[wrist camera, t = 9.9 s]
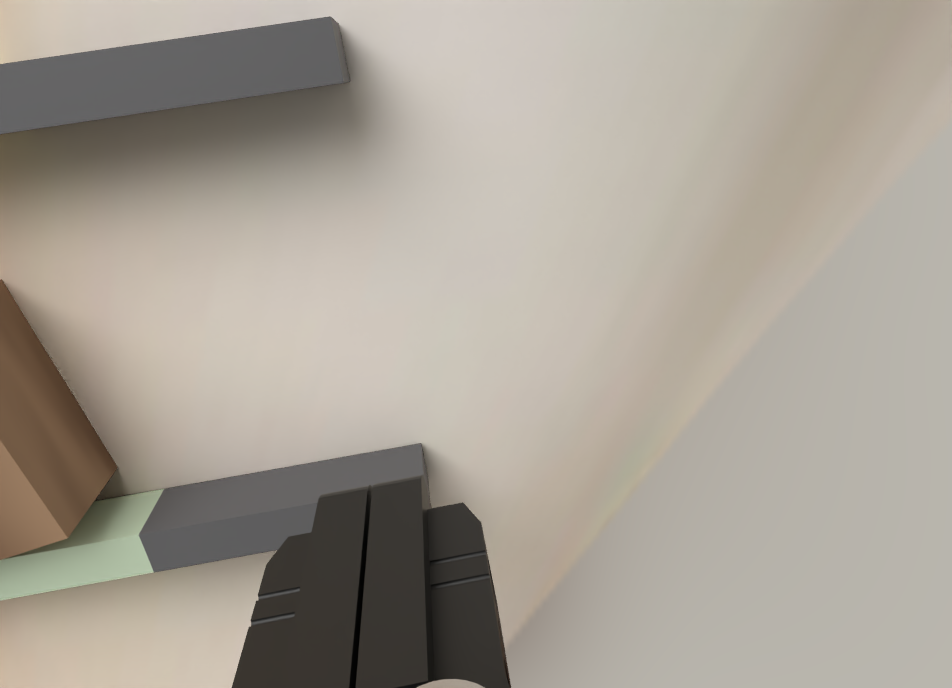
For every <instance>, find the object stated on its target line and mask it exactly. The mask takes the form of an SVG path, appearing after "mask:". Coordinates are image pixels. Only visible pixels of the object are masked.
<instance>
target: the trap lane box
mask: <svg viewBox="0 0 952 688" xmlns="http://www.w3.org/2000/svg"><path fill="white" fill-rule="evenodd" d="M346 82H350V78H349V73H348V68H347V63H346V58H345V53H344V48H343V43H342V38H341V33H340V27H339V23H337V22H336V21H335V20H334V19H333V18H332V17H324V18H317V19H310V20H303V21H296V22H289V23H282V24H276V25H269V26H262V27H255V28H248V29H241V30H234V31H227V32H220V33H213V34H206V35H199V36H192V37H185V38H179V39H172V40H165V41H158V42H151V43H144V44H137V45H130V46H123V47H116V48H109V49H102V50H95V51H88V52H82V53H75V54H68V55H61V56H54V57H47V58H40V59H33V60H26V61H19V62H12V63H5V64H0V134H5V133H11V132H18V131H25V130H31V129H38V128H45V127H51V126H58V125H65V124H72V123H78V122H85V121H92V120H98V119H105V118H112V117H118V116H125V115H132V114H138V113H145V112H152V111H159V110H165V109H172V108H179V107H185V106H192V105H199V104H205V103H212V102H219V101H225V100H232V99H239V98H246V97H252V96H259V95H266V94H272V93H279V92H286V91H292V90H299V89H306V88H312V87H319V86H326V85H333V84H339V83H346ZM419 475H423V477H424V479H425V483H426V486H427V491H428V495H429V484H428V476H427V471H426V466H425V460H424V455H423V450H422V445H421V443H420V444H415V445H409V446H404V447H398V448H392V449H387V450H381V451H375V452H370V453H364V454H358V455H353V456H347V457H341V458H336V459H330V460H325V461H319V462H313V463H308V464H302V465H296V466H291V467H285V468H279V469H274V470H268V471H263V472H257V473H251V474H246V475H240V476H234V477H229V478H223V479H217V480H212V481H206V482H201V483H195V484H189V485H184V486H178V487H172V488H167V489H161V490H155V491H150V492H144V493H139V494H133V495H127V496H122V497H116V498H110V499H105V500H99V501H94V502H93V503H92V505H91V506H90V508H89V509H88V510H87V512H86V513H85V515H84V516H83V518H82V519H81V520H80V522H79V523H78V525H77V526H76V527H75V529H74V530H73V532H72V533H71V535H70V536H69V537H68V538H67V539H64V540H61V541H58V542H55V543H52V544H49V545H45V546H42V547H39V548H36V549H33V550H30V551H27V552H24V553H21V554H18V555H15V556H12V557H8V558H5V559H2V560H0V601H1V600H6V599H12V598H17V597H23V596H28V595H34V594H39V593H44V592H50V591H55V590H61V589H66V588H72V587H77V586H83V585H88V584H94V583H99V582H104V581H110V580H115V579H121V578H126V577H132V576H137V575H143V574H148V573H154V572H159V571H164V570H170V569H175V568H181V567H186V566H192V565H197V564H203V563H208V562H214V561H219V560H224V559H230V558H235V557H241V556H246V555H252V554H257V553H263V552H268V551H274V550H278V549H279V548H280V547H281V545H282V544H283V543H284V541H285V540H286V539H287V537H289V536H294V535H300V534H305V533H310V532H312V527H313V522H314V517H315V513H316V508H317V503H318V499H319V497H320V495H322V494H327V493H332V492H337V491H342V490H347V489H353V488H358V487H363V486H368V485H371V486H372V487H373V485H374V484H378V483H383V482H388V481H393V480H398V479H403V478H409V477H414V476H419ZM429 499H430V496H429Z"/></svg>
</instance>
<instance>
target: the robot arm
mask: <svg viewBox="0 0 952 688" xmlns="http://www.w3.org/2000/svg"><path fill="white" fill-rule="evenodd" d="M258 597H259V600H258V601H256V604H255V607H254V611H253V614H252V618H251V627H249V629H248V632H247V636H246V639H245V643H244V646H243V650H242V653H241V657H240V660H239V664H238V668H237V671H236V675H235V678H234V682H233V685H232V688H511V685H510V678H509V673H508V666H507V661H506V655H505V648H504V642H503V636H502V630H501V624H500V618H499V612H498V606H497V600H496V595H495V590H494V585H493V580H492V575H491V570H490V565H489V560H488V555H487V550H486V545H485V540H484V535H483V530H482V525H481V522H480V521H479V520H478V519H477V518H476V516H475V515H474V514H473V513H472V512H471V511H470V510H469V509H468V508H467V506H466V505H465V504H464V503H458V504H453V505H448V506H443V507H437V508H431V503H430V499H429V495H428V491H427V486H426V483H425V479H424V477H423V475H419V476H414V477H409V478H403V479H398V480H393V481H388V482H383V483H378V484H374V485H373V487H372V486H371V485H368V486H363V487H358V488H353V489H347V490H342V491H337V492H332V493H327V494H322V495H320V497H319V499H318V503H317V508H316V513H315V517H314V522H313V527H312V532H310V533H305V534H300V535H294V536H289V537H287V539H286V540H285V541H284V543H283V544H282V545H281V547H280V548H279V549H278V550H277V552H276V553H275V554H274V556H273V557H272V558H271V560H270V561H269V562H268V563H267V565H266V568H265V572H264V575H263V579H262V582H261V586H260V589H259V593H258Z"/></svg>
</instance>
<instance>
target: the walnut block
mask: <svg viewBox="0 0 952 688" xmlns="http://www.w3.org/2000/svg"><path fill="white" fill-rule="evenodd" d="M117 468H118V467H117V465H116V464H115V462H114V461H113V459H112V457H111V456H110V454H109V452H108V451H107V449H106V448H105V446H104V444H103V443H102V441H101V440H100V438H99V436H98V435H97V433H96V431H95V430H94V428H93V427H92V425H91V423H90V422H89V420H88V418H87V417H86V415H85V414H84V412H83V410H82V409H81V407H80V406H79V404H78V402H77V401H76V399H75V397H74V396H73V394H72V393H71V391H70V389H69V388H68V386H67V385H66V383H65V381H64V380H63V378H62V376H61V375H60V373H59V372H58V370H57V368H56V367H55V365H54V364H53V362H52V360H51V359H50V357H49V355H48V354H47V352H46V351H45V349H44V347H43V346H42V344H41V342H40V341H39V339H38V338H37V336H36V334H35V333H34V331H33V330H32V328H31V326H30V325H29V323H28V321H27V320H26V318H25V317H24V315H23V313H22V312H21V310H20V309H19V307H18V305H17V304H16V302H15V300H14V299H13V297H12V296H11V294H10V292H9V291H8V289H7V287H6V286H5V284H4V283H3V281H2V279H1V280H0V560H2V559H5V558H8V557H12V556H15V555H18V554H21V553H24V552H27V551H30V550H33V549H36V548H39V547H42V546H45V545H49V544H52V543H55V542H58V541H61V540H64V539H67V538H68V537H69V536H70V535H71V533H72V532H73V530H74V529H75V527H76V526H77V525H78V523H79V522H80V520H81V519H82V518H83V516H84V515H85V513H86V512H87V510H88V509H89V508H90V506H91V505H92V503H93V502H94V501H95V499H96V498H97V496H98V495H99V493H100V492H101V491H102V489H103V488H104V486H105V485H106V483H107V482H108V481H109V479H110V478H111V476H112V475H113V474H114V472H115V471H116V469H117Z"/></svg>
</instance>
